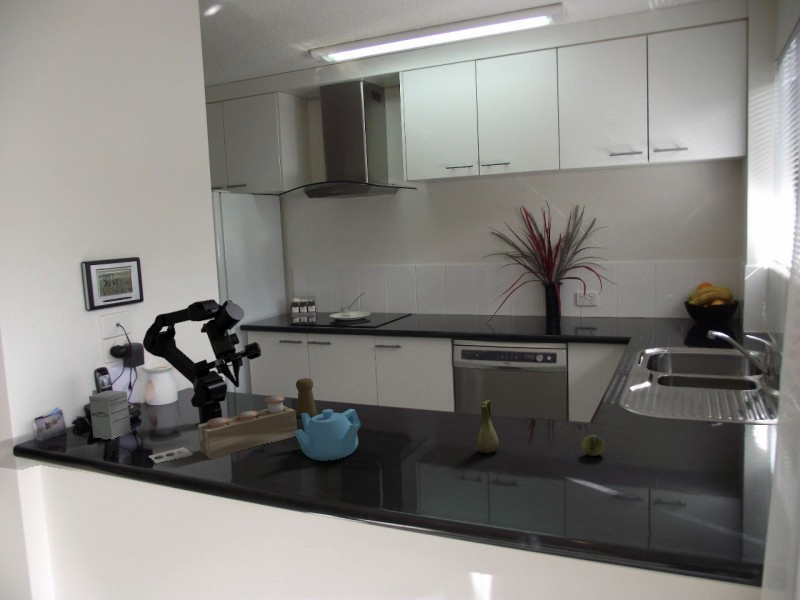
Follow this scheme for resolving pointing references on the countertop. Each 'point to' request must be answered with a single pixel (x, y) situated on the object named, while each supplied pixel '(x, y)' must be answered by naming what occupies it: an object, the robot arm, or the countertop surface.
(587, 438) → the lime
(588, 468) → the countertop surface
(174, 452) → the pattern card
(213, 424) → the button
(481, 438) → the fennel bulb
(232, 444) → the button box
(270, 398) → the button
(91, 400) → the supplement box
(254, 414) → the middle button
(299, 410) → the cork
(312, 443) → the teapot
